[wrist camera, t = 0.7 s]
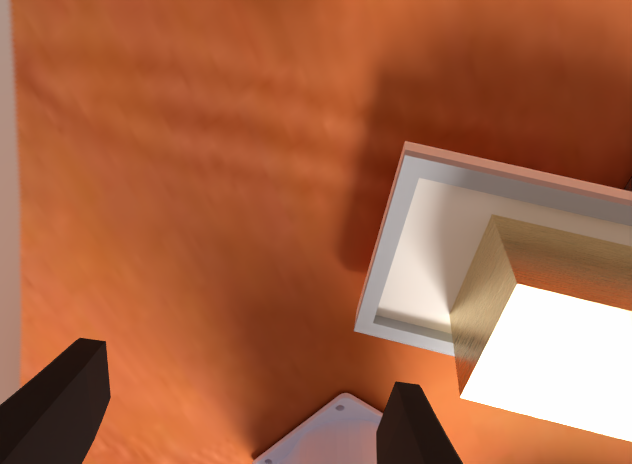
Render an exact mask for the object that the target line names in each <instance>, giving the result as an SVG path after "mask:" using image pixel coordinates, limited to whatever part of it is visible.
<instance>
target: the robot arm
mask: <svg viewBox="0 0 632 464" xmlns="http://www.w3.org/2000/svg"><path fill="white" fill-rule="evenodd" d="M110 398H111V396H110V384H109V373H108V362H107V350H106V341H99V340H92V339H85V338H79V339H78V340H76V341H75V342H74V343H73V344H71V345H70V346H69V347H68V348H67V349H66V350H65V351H63V352H62V353H61V354H60V355H59V356H58V357H57V358H55V359H54V360H53V361H52V362H51V363H50V364H49V365H47V366H46V367H45V368H44V369H43V370H42V371H41V372H39V373H38V374H37V375H36V376H35V377H34V378H32V379H31V380H30V381H29V382H28V383H26V384H25V385H24V386H23V387H22V388H20V389H19V390H18V391H17V392H16V393H15V394H13V395H12V396H11V397H10V398H8V399H7V400H6V401H5V402H3V403H2V404H1V405H0V464H82V462H83V460H84V458H85V456H86V454H87V453H88V451H89V449H90V447H91V445H92V443H93V441H94V439H95V436H96V434H97V431H98V429H99V426H100V424H101V422H102V419H103V416H104V414H105V411H106V408H107V406H108V403H109V401H110ZM252 464H463V462H462V461H461V459H460V457H459V456H458V454H457V452H456V451H455V449H454V447H453V445H452V444H451V442H450V440H449V438H448V437H447V435H446V433H445V431H444V429H443V428H442V426H441V424H440V422H439V420H438V418H437V417H436V415H435V413H434V411H433V409H432V407H431V405H430V403H429V401H428V400H427V398H426V396H425V394H424V392H423V390H422V388H421V387H420V385H417V384H410V383H403V382H395V384H394V387H393V389H392V392H391V395H390V397H389V400H388V402H387V405H386V408H385V410H384V413H381V412H380V411H378V410H376V409H375V408H373V407H371V406H370V405H368V404H366V403H365V402H363V401H361V400H360V399H358V398H356V397H355V396H353V395H351V394H349V393H342V394H340V395H339V396H337V397H336V398H335V399H333V400H332V401H331V402H329V403H328V404H327V405H325V406H324V407H323V408H322V409H320V410H319V411H318V412H316V413H315V414H314V415H312V416H311V417H310V418H309V419H307V420H306V421H305V422H303V423H302V424H301V425H299V426H298V427H297V428H295V429H294V430H293V431H292V432H290V433H289V434H288V435H286V436H285V437H284V438H282V439H281V440H280V441H278V442H277V443H276V444H275V445H273V446H272V447H271V448H269V449H268V450H267V451H265V452H264V453H263V454H262V455H260V456H259V457H258V458H256V459H255V460H254V461H253V463H252Z"/></svg>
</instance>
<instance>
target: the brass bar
mask: <svg viewBox="0 0 632 464" xmlns="http://www.w3.org/2000/svg"><path fill="white" fill-rule="evenodd" d="M449 316H450V324H451V331H452V339H453V347H454V354H455V362H456V369H457V377H458V385H459V392H460V398H464V399H468V400H472V401H476V402H480V403H483V404H487V405H491V406H495V407H499V408H503V409H507V410H511V411H515V412H519V413H523V414H526V415H530V416H534V417H538V418H542V419H546V420H550V421H554V422H558V423H562V424H565V425H569V426H573V427H577V428H581V429H585V430H589V431H593V432H597V433H601V434H604V435H608V436H612V437H616V438H620V439H624V440H628V441H632V246H627V245H623V244H619V243H614V242H610V241H606V240H601V239H597V238H593V237H588V236H584V235H580V234H575V233H571V232H567V231H562V230H558V229H554V228H550V227H545V226H541V225H537V224H532V223H528V222H524V221H519V220H515V219H511V218H506V217H502V216H498V215H493V214H492V215H491V218H490V220H489V222H488V225H487V227H486V229H485V232H484V234H483V236H482V239H481V241H480V243H479V246H478V248H477V250H476V253H475V255H474V258H473V260H472V262H471V265H470V267H469V269H468V272H467V274H466V276H465V279H464V281H463V283H462V286H461V288H460V290H459V293H458V295H457V297H456V300H455V302H454V304H453V307H452V309H451V311H450V314H449Z"/></svg>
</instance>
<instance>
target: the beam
mask: <svg viewBox="0 0 632 464" xmlns="http://www.w3.org/2000/svg"><path fill="white" fill-rule="evenodd" d="M492 214H493V215H498V216H502V217H506V218H511V219H515V220H519V221H524V222H528V223H532V224H537V225H541V226H545V227H550V228H554V229H558V230H562V231H567V232H571V233H575V234H580V235H584V236H588V237H593V238H597V239H601V240H606V241H610V242H614V243H619V244H623V245H627V246H632V192H631V191H627V190H622V189H618V188H613V187H609V186H604V185H600V184H595V183H591V182H586V181H582V180H578V179H573V178H569V177H564V176H560V175H555V174H551V173H546V172H542V171H537V170H533V169H529V168H524V167H520V166H515V165H511V164H506V163H502V162H497V161H493V160H488V159H484V158H480V157H475V156H471V155H466V154H462V153H457V152H453V151H448V150H444V149H439V148H435V147H431V146H426V145H422V144H417V143H413V142H408V141H405V143H404V146H403V150H402V153H401V157H400V160H399V164H398V167H397V171H396V174H395V178H394V181H393V185H392V188H391V192H390V195H389V199H388V202H387V206H386V209H385V213H384V216H383V220H382V223H381V227H380V230H379V233H378V237H377V240H376V244H375V247H374V251H373V254H372V258H371V261H370V265H369V268H368V272H367V275H366V279H365V282H364V286H363V289H362V293H361V296H360V300H359V303H358V307H357V312H356V319H355V326H354V331H355V332H359V333H363V334H367V335H371V336H375V337H379V338H383V339H387V340H391V341H395V342H399V343H403V344H407V345H411V346H415V347H419V348H423V349H427V350H431V351H435V352H439V353H443V354H447V355H451V356H455V354H454V347H453V339H452V331H451V324H450V316H449V314H450V311H451V309H452V307H453V304H454V302H455V300H456V297H457V295H458V293H459V290H460V288H461V286H462V283H463V281H464V279H465V276H466V274H467V272H468V269H469V267H470V265H471V262H472V260H473V258H474V255H475V253H476V250H477V248H478V246H479V243H480V241H481V239H482V236H483V234H484V232H485V229H486V227H487V225H488V222H489V220H490V218H491V215H492Z"/></svg>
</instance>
